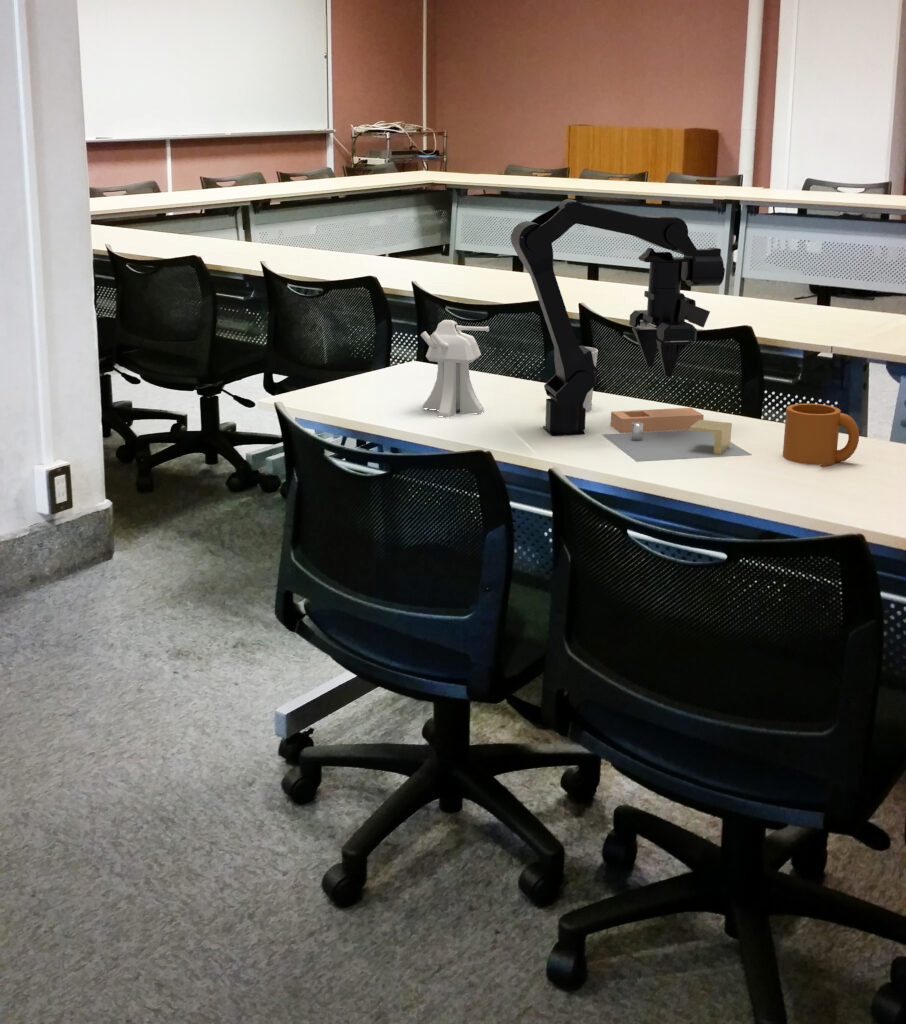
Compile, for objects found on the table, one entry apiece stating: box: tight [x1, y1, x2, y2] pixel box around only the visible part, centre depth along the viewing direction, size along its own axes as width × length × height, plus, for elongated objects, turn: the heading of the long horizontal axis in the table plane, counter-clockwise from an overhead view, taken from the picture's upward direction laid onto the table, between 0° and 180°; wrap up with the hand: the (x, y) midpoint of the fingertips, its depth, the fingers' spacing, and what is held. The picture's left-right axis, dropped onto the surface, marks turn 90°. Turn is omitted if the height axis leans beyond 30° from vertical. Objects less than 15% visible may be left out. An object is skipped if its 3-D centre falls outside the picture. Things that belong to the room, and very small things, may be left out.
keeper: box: [689, 419, 733, 455], centre depth 209 cm, size 6×6×4 cm
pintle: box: [631, 422, 643, 441], centre depth 215 cm, size 2×2×3 cm
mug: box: [782, 403, 860, 467], centre depth 202 cm, size 9×12×9 cm
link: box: [610, 407, 704, 433], centre depth 224 cm, size 16×6×3 cm, turn 102°
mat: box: [601, 429, 753, 463], centre depth 212 cm, size 21×18×1 cm
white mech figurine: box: [420, 319, 490, 418], centre depth 235 cm, size 12×13×18 cm
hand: (659, 371), depth 221 cm, fingers open, 9 cm apart
